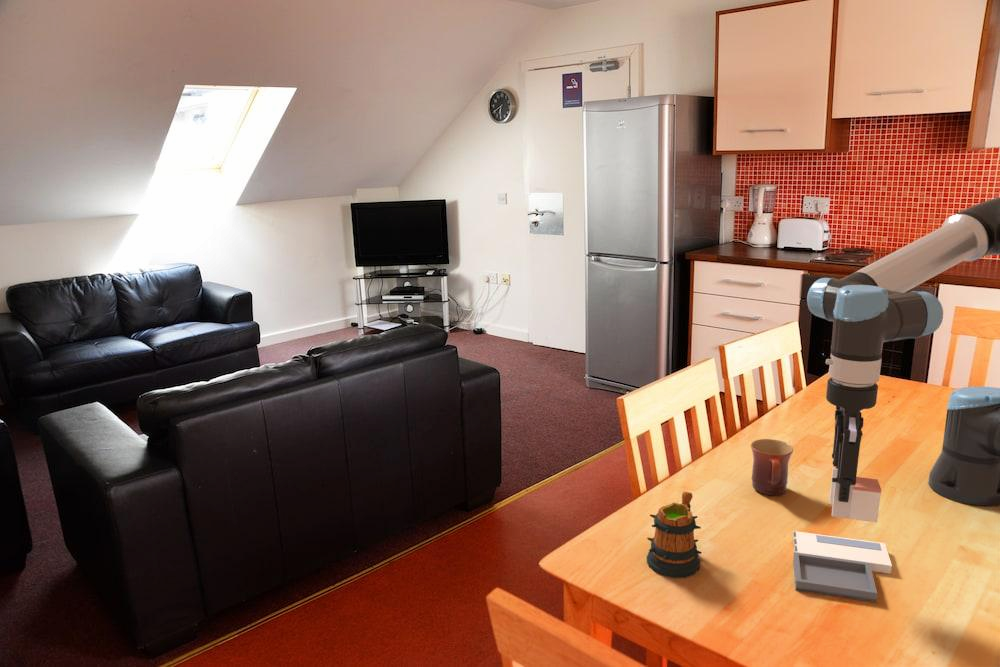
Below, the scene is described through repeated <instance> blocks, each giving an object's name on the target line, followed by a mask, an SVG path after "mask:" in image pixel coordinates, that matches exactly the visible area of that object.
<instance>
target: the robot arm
mask: <svg viewBox="0 0 1000 667" xmlns="http://www.w3.org/2000/svg"><path fill="white" fill-rule="evenodd" d="M987 256H1000V196H999V197H994V198H991V199H988V200H986V201H982V202H980V203H977V204H974V205H972V206H969V207H967V208H965V209H963V210H960V211H959V212H957V213H954V214H952V215H950V216H949V217H947V218H946V219H945V220H944V221H943V223H942V224H941V227H939V228H937V229H935V230H933V231H931V232H929V233H927V234H925V235H923V236H922V237H920V238H918V239H916V240H914V241H913V242H910V243H908V244H906V245H904V246H902V247H901V248H899V249H896V250H895V251H893V252H891V253H889V254H887V255H885V256H883V257H881V258H880V259H877V260H875V261H874V262H872V263H870V264H868V265H866V266H864V267H862V268H860V269H859V270H857V271H854V272H853V273H851V274H849V275H848V274H847V275H846V276H844V277H843V278H839V279H838V278H836V277H820V278H819V279H817V280H816V281H814V282H813V283H812V285H811V286H810V288H809V289H808V292H807V296H806V301H807V304H806V305H807V307H808V310H809V312H810V313H811V314H812V315H814V316H815V317H818V318H821V319H825V320H826V321H828V322H832V333H831V334H832V335H831V345H830V358H827V359H825V364H826V365H829V368H828V376H829V379H828V380H827V384H826V396H825V399H826V401H827V402H828V403H830V404H831V405H833V406H835V411H834V420H835V421H834V437H833V446H832V447H833V448H832V454H831V458H832V459H833V461H832V465H833V467H832V470H831V471H832V473H831V479H830V480H831V482H830V493H829V501H828V502H829V504H830V505H832V507H831V517H833V518H839V517H840V518H841V519H847V520H851V519H850V510H851V501H852V492H853V485H856V477H857V475H858V473H857V472H858V464H859V459H860V458H859V457H860V450H861V442H862V437H863V436H864V435H863V431H862V429H863V427H864V417H863V416H862V412H861V411H862V410H868V409H872V408H874V407H875V406H876V404H877V399H878V390H879V389H878V388H879V385H878V384H877V382H879V381H880V374H881V368H882V361H883V360H882V358H883V357H882V354H883V346H884V343H889V342H893V341H900V340H907V339H908V340H909V339H919V338H921V337H924V336H928V335H930V334H933V333H934V332H936V331H937V330H938V329H939V328H940V327H941V325H942V323H943V319H944V309H943V305H942V303H941V302H940V300H939V299H938V298H937V296H936V295H934V294H932V293H930V292H927V291H915V290H912V289H914V288H915V287H917V286H919V285H921V284H924V283H925V282H926V281H928V280H930V279H932V278H934V277H936V276H939V275H940V274H941V273H944V272H945V271H947V270H949V269H951V268H952V267H955V266H956V265H958V264H960V263H962V262H973V261H976V260H979V259H981V258H983V257H987ZM910 290H911V291H910ZM908 291H909V292H908ZM946 410H947V411H946V416H945V417H946V418H945V425H944V432H943V441H942V447H941V448H942V449H941V452H940V454H939V456H938V457H937V459H936V461H935V463H934V464H933V466H932V468H931V470H930V471H929V475H928V482H927V483H928V486H929V487H930V489H931V490H933V491H934V492H935V493H937V494H939V495H940V496H942V497H944V498H947V499H950V500H952V501H956V502H960V503H963V504H967V505H973V506H974V505H975V506H982V507H983V506H984V507H990V506H1000V387H993V386H965V387H959V388H957V389H954V390H953V391H952V392H951V393H950V395H949V399H948V403H947V407H946ZM840 518H839V519H840Z"/></svg>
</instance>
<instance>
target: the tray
mask: <svg viewBox="0 0 1000 667" xmlns="http://www.w3.org/2000/svg"><path fill="white" fill-rule="evenodd" d="M792 562H793V574H794V584H795V591H799V592H806V593H813V594H818V595H819V594H820V595H825V596H831V597H837V598H838V597H839V598H844V599H851V600H859V601H862V602H869V603H870V602H871V603H877V598H878V590H877V587H876V584H875V583H876V582H875V579H874V575H873V571H871V567H870V563H867V562H860V561H853V560H846V559H839V558H832V557H825V556H818V555H811V554H804V553H797V552H794V551H793V560H792Z"/></svg>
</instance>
